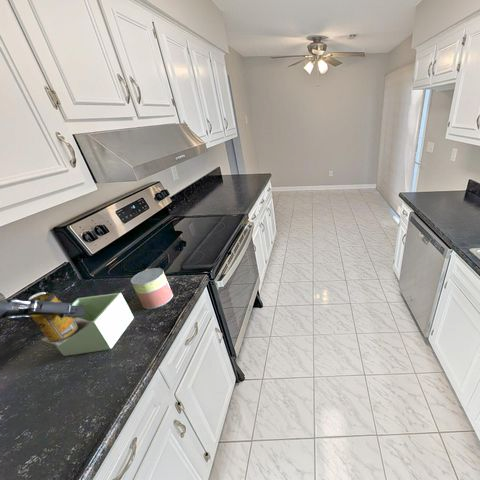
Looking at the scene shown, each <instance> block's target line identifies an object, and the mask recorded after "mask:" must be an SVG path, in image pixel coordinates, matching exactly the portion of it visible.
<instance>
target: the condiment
mask: <svg viewBox="0 0 480 480" xmlns="http://www.w3.org/2000/svg"><path fill="white" fill-rule="evenodd" d="M31 300H39V301H45V302H59V303H63V301H62V300H60V299H59V298H58V297H57V296H56V295H55V294H54V293H53V292H45V294H42V295H39V296H36V297H34V298H32V299H31ZM31 300H29V299H28V301H31ZM31 318H32V319H33V321H34V323H35V324H36V325H37V328H39V329H40V330H41V332H42V333H43V335H44V336H45V337H44V338H42V339H41V341H43V342H44V343H45V342H46V343H48V344H52V345H54V346H56V345H58V346H59V345H60V344H62V343H63V342H65V341H66V340H68V339H69V338H71V337H72V336H73V335H75V334H76V333H78V332H79V331H80V330H82V329H83V328H85V327H86V326H88V325H89V324H90V323H92V322H93V321H88V320H83V319H80V318H75V319H73V318H72V316H65V318H60V316H59V315H31ZM31 318H30V319H31Z"/></svg>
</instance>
